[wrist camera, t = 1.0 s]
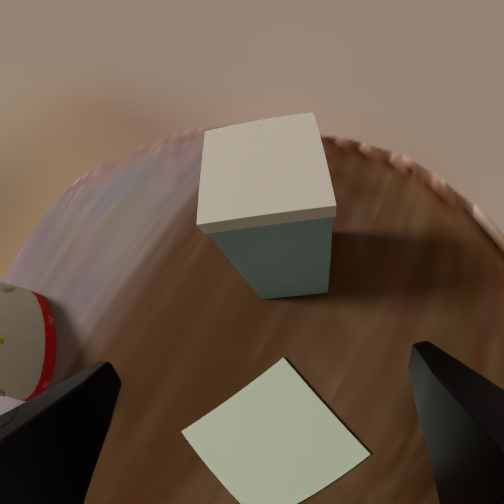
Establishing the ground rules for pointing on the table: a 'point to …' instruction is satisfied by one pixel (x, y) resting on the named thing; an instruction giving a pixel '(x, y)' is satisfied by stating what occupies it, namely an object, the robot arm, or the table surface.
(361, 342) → the table surface
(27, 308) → the kitchen timer
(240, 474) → the plate
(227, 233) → the tea tin
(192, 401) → the table surface
